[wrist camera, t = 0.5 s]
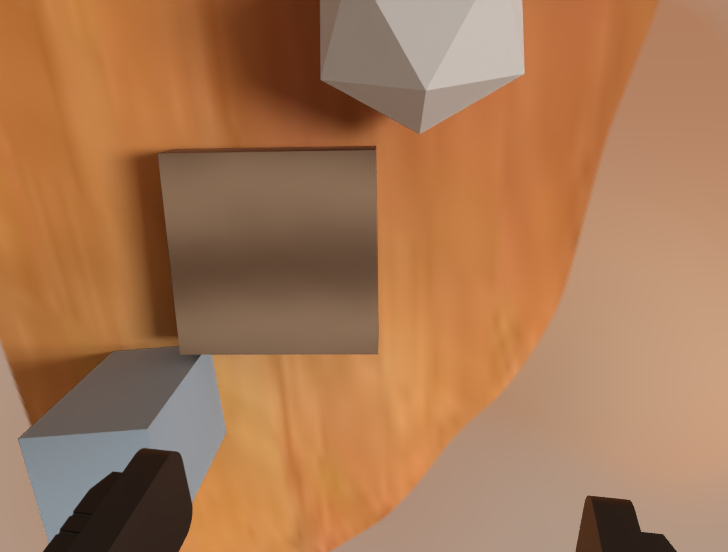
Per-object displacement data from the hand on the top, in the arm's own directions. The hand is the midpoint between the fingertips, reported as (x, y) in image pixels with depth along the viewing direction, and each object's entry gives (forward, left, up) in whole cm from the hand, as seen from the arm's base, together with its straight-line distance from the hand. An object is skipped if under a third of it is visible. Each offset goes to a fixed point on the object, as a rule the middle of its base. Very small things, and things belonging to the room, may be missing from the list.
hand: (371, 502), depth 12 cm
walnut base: (0, -5, -21) cm, 21 cm away
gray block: (+9, -11, -20) cm, 25 cm away
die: (-11, +1, -21) cm, 23 cm away
